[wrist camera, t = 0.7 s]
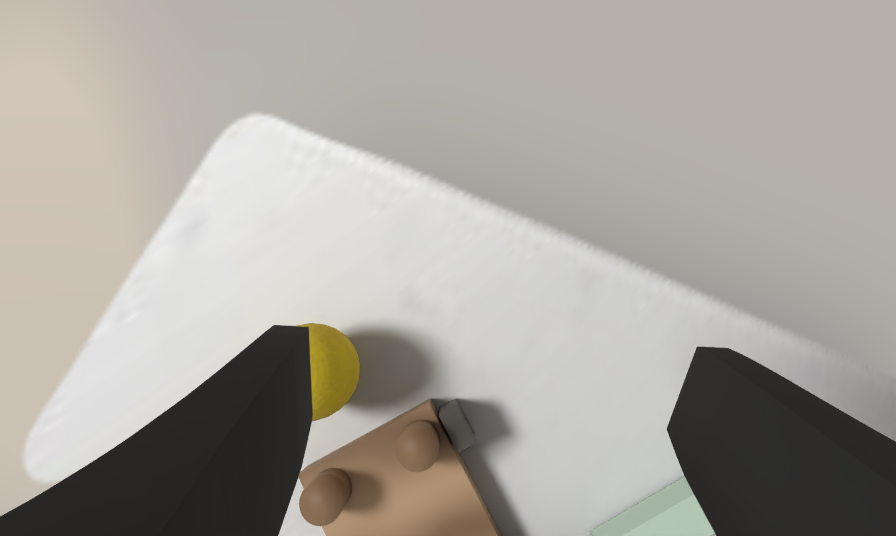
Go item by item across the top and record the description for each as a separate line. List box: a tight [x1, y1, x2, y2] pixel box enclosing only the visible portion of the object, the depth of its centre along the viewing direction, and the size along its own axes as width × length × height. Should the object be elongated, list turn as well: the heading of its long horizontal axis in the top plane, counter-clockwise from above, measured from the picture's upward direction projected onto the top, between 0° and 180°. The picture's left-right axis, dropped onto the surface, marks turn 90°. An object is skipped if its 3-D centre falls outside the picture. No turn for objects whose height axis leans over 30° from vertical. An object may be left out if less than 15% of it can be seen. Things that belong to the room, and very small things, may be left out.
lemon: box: [297, 323, 360, 421], centre depth 29 cm, size 6×6×8 cm
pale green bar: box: [590, 477, 715, 536], centre depth 29 cm, size 9×2×2 cm, turn 118°
